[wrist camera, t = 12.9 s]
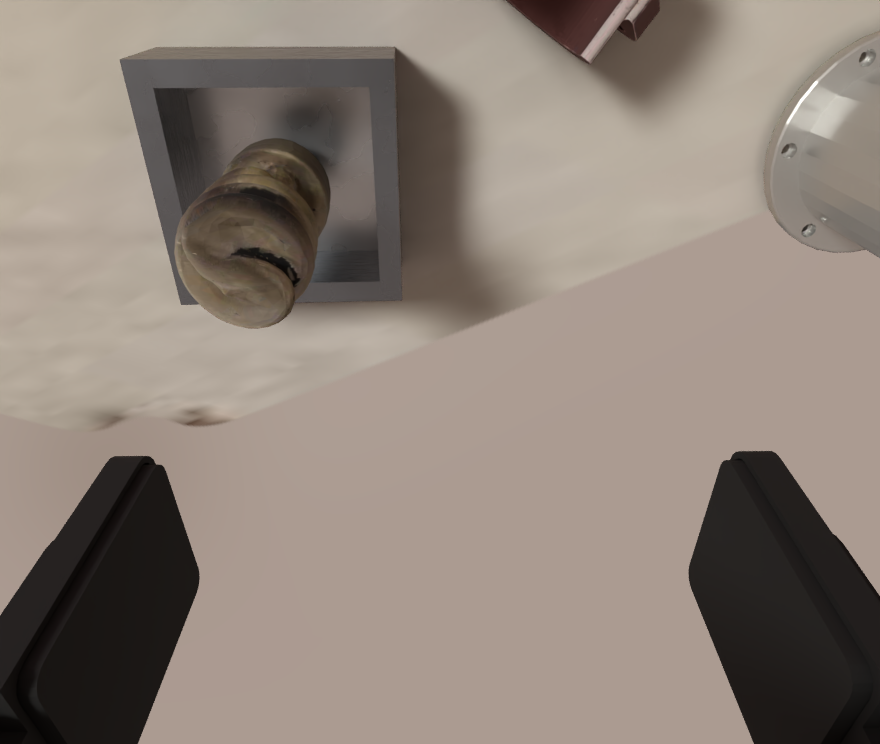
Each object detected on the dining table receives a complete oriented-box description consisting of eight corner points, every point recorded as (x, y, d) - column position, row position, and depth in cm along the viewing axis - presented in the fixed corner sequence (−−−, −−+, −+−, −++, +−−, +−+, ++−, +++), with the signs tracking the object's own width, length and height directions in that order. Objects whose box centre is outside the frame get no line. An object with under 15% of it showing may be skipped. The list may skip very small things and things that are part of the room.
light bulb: (339, 221, 37) (306, 349, 25) (246, 211, 37) (164, 337, 24) (344, 123, 34) (308, 212, 22) (242, 110, 34) (146, 194, 21)
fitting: (395, 46, 33) (393, 58, 29) (402, 265, 40) (401, 300, 35) (156, 47, 32) (119, 59, 28) (204, 268, 39) (181, 304, 35)
